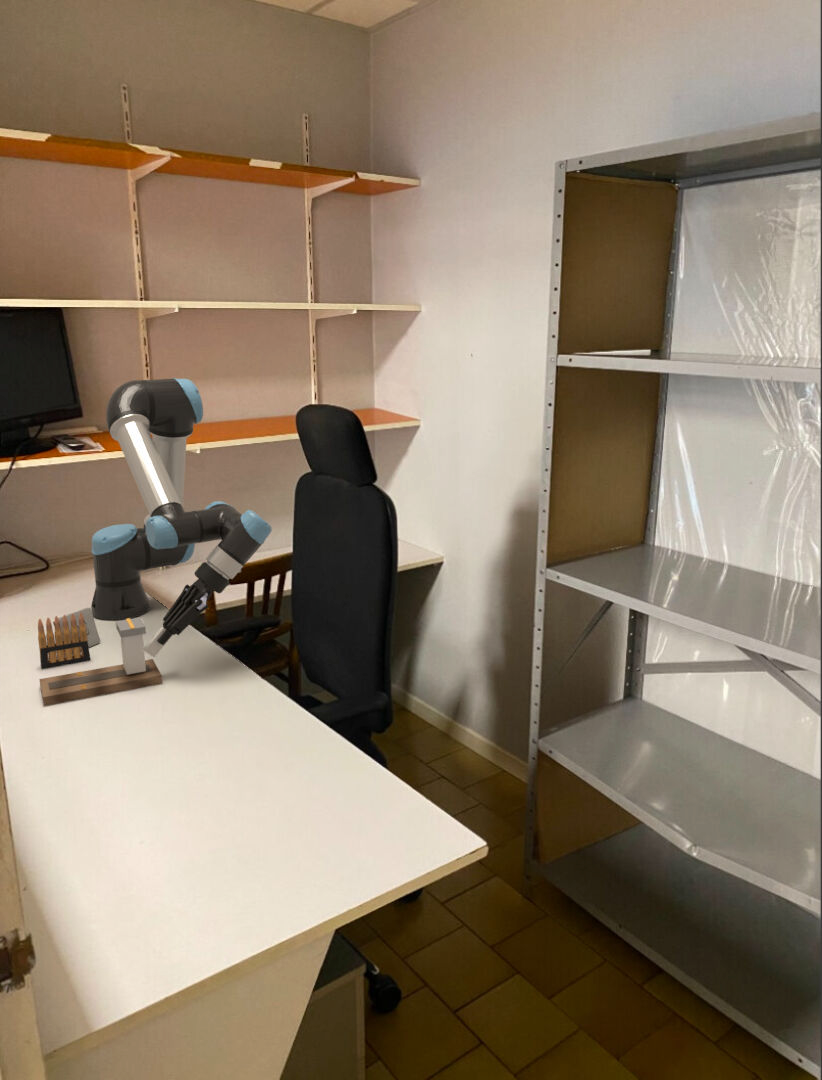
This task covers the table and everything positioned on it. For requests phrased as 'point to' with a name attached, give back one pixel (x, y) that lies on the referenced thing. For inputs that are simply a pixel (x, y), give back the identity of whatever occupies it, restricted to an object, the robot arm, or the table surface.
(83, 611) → the electrical switch
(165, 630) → the robot arm
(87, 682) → the fader console
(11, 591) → the table surface
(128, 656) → the fader tab
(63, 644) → the ammunition clip
